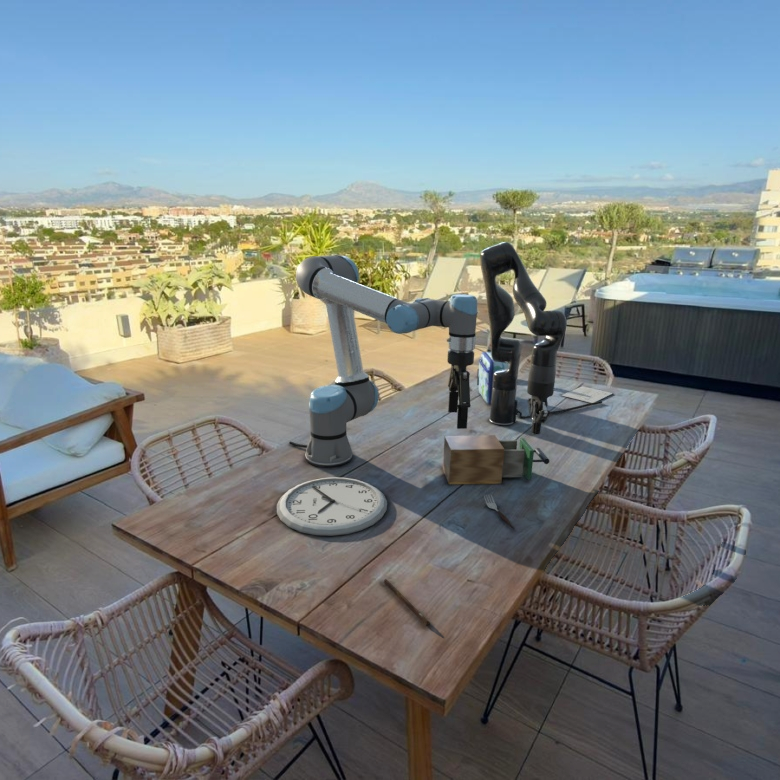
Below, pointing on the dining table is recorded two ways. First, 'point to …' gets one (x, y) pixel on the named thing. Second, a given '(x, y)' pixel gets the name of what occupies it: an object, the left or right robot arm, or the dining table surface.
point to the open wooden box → (473, 459)
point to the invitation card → (587, 394)
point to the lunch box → (488, 375)
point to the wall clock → (331, 506)
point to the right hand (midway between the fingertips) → (535, 433)
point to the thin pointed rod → (407, 602)
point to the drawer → (519, 458)
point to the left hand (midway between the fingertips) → (457, 419)
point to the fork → (494, 506)
